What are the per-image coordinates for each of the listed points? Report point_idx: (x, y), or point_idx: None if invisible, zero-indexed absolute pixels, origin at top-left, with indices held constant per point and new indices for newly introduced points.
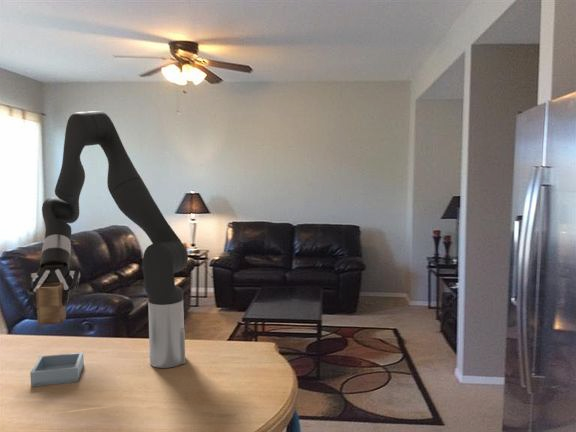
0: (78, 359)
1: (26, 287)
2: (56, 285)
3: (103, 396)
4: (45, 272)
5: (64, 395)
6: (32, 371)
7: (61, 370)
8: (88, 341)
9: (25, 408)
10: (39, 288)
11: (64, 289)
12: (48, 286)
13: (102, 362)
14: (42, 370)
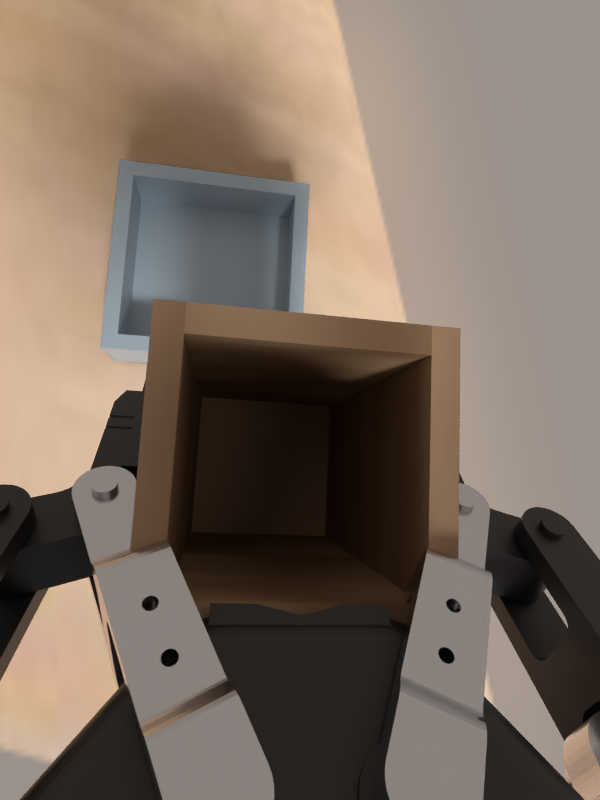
0: (120, 257)
1: (586, 543)
2: (238, 597)
3: (36, 41)
4: (466, 764)
5: (175, 105)
6: (303, 194)
7: (188, 170)
8: (100, 704)
9: (290, 62)
10: (416, 327)
11: (129, 475)
12: (340, 592)
13: (31, 372)
14: (264, 190)
